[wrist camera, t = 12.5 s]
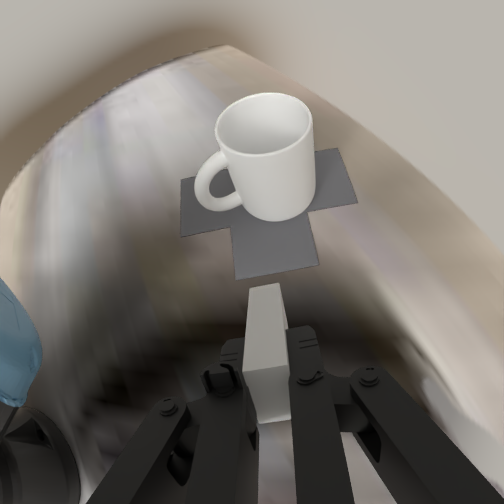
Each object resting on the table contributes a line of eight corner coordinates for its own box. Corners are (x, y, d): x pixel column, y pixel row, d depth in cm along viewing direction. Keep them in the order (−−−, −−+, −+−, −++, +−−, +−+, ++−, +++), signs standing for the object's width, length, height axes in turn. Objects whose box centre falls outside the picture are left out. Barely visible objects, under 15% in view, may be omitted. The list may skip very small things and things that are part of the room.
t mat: (183, 291, 32) (181, 289, 32) (182, 182, 38) (181, 179, 38) (373, 256, 30) (374, 253, 30) (337, 150, 36) (337, 148, 36)
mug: (229, 257, 32) (195, 197, 23) (198, 200, 36) (163, 137, 27) (331, 200, 33) (332, 127, 24) (289, 152, 37) (279, 81, 28)
